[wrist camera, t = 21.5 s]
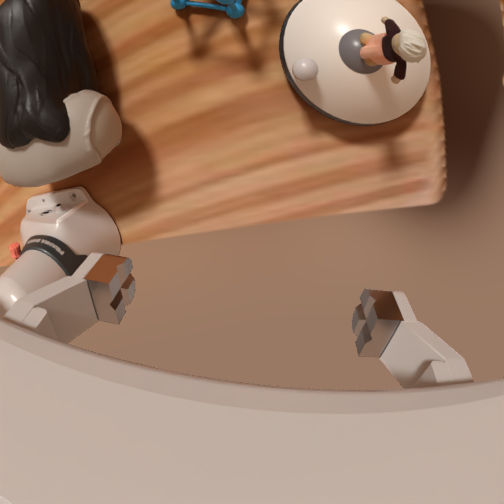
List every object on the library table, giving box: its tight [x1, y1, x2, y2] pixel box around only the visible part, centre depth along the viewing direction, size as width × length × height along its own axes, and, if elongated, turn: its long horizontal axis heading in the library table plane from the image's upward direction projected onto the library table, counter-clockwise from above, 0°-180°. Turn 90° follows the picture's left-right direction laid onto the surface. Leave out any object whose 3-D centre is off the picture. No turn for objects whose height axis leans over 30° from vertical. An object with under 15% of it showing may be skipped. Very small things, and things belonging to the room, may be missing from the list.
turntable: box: [284, 0, 430, 124], centre depth 27 cm, size 19×19×6 cm
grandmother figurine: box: [360, 16, 427, 84], centre depth 23 cm, size 8×4×13 cm, turn 21°
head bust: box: [0, 0, 122, 187], centre depth 27 cm, size 22×17×30 cm
